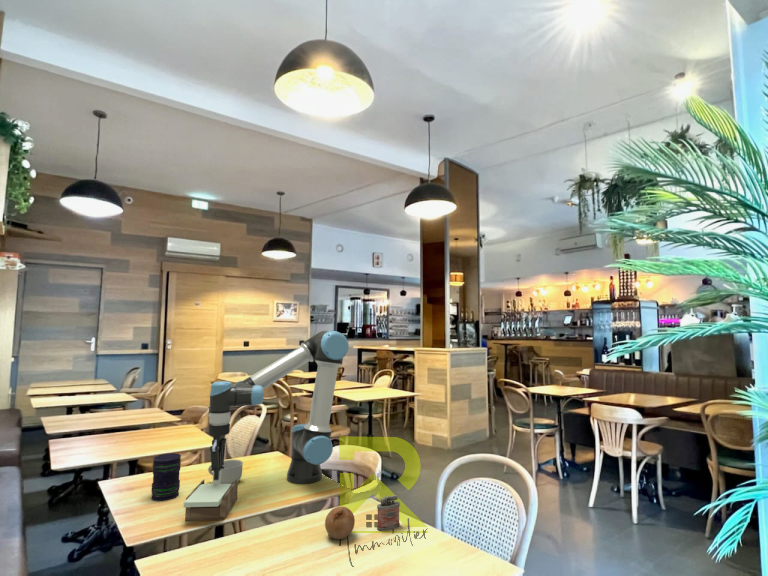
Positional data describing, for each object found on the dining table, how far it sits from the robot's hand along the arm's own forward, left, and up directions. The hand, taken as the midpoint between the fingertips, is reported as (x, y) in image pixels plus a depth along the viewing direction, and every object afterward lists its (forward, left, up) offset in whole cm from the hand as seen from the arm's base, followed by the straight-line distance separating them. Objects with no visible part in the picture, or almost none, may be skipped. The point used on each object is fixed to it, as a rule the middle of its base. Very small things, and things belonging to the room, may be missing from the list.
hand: (216, 487), depth 163 cm
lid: (0, +9, 0) cm, 9 cm away
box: (0, +5, -6) cm, 8 cm away
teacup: (+3, -23, -6) cm, 24 cm away
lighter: (-62, +24, -6) cm, 67 cm away
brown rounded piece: (-46, +29, -6) cm, 55 cm away
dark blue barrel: (+22, -9, -6) cm, 24 cm away
